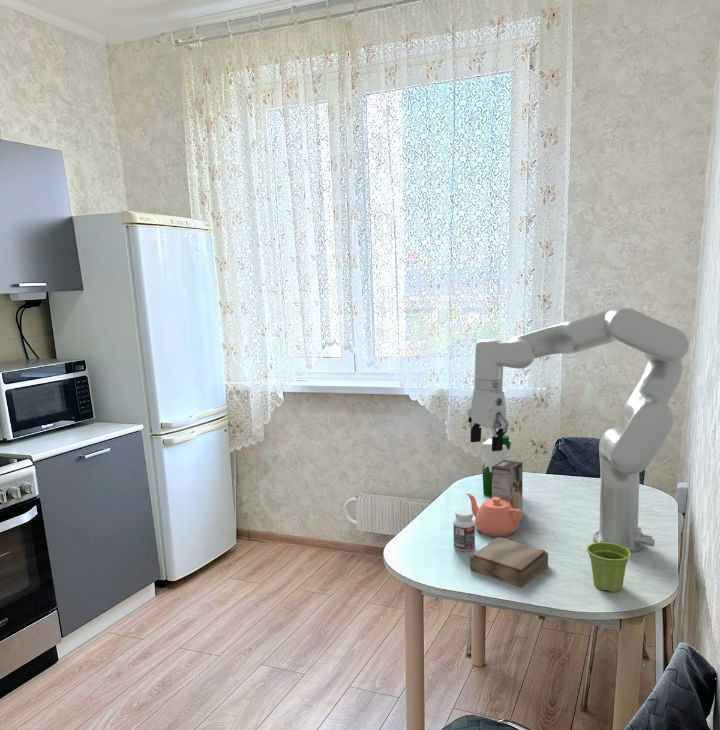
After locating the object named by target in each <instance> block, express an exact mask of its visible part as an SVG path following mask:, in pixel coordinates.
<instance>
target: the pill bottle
mask: <svg viewBox="0 0 720 730" xmlns="http://www.w3.org/2000/svg"><path fill="white" fill-rule="evenodd" d="M454 513H455V519H454V521H453V547H454V549H455V550H458V551H459V552H470V551H473V550H474V549H475V547H476V526H475V520H474V519H473V518H474V515H473V512H472V510H470V509H466V508H465V509H464V508H463V509H457V510H456V511H455V512H454Z"/></svg>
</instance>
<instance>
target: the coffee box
mask: <svg viewBox="0 0 720 730" xmlns="http://www.w3.org/2000/svg"><path fill="white" fill-rule="evenodd" d="M523 488H524V487H523V462H522V461H515V460H511V461H509V460H503V461H501V462H499V463H498V464H496V465H494V466H493V467H492V496H491V499H492V498H493V497H498V498H501V500H505V501H508V502H509V503H510V504H511V506H512V507H513V509H520V510H521V511H522V512H523V505H524V504H523V503H524V502H523V501H524V500H523ZM516 516H517V513H516Z"/></svg>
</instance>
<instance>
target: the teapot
mask: <svg viewBox="0 0 720 730" xmlns="http://www.w3.org/2000/svg"><path fill="white" fill-rule="evenodd" d="M465 495H467V496H468V497H469V499H470V503H471V505H470V507H471V511H472V512H473V517H475V520H474V522H475V529H477V530H478V531H479V532H480V533H481V534H483V535H486V536H489V537H495V538H498V537H500V538H503V537H508V536H510V535H513V534H514V533H515V531H517V529H518V527H519V522H520V521H521V519H522V518H523V515H524V514H523V512H522V511H521V510H520V509H513V507H512V506H511V504H510V503H509V502H508V501H505V500H501V498H498V497H493V498H492V497H491V498H490V499H486V500H484V501H483V502H482V503H481V505H480V507H479V506H478V504H477V500H476V498H475V496H474V495H473V494H471V493H466V494H465ZM516 513H517V516H516Z"/></svg>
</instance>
